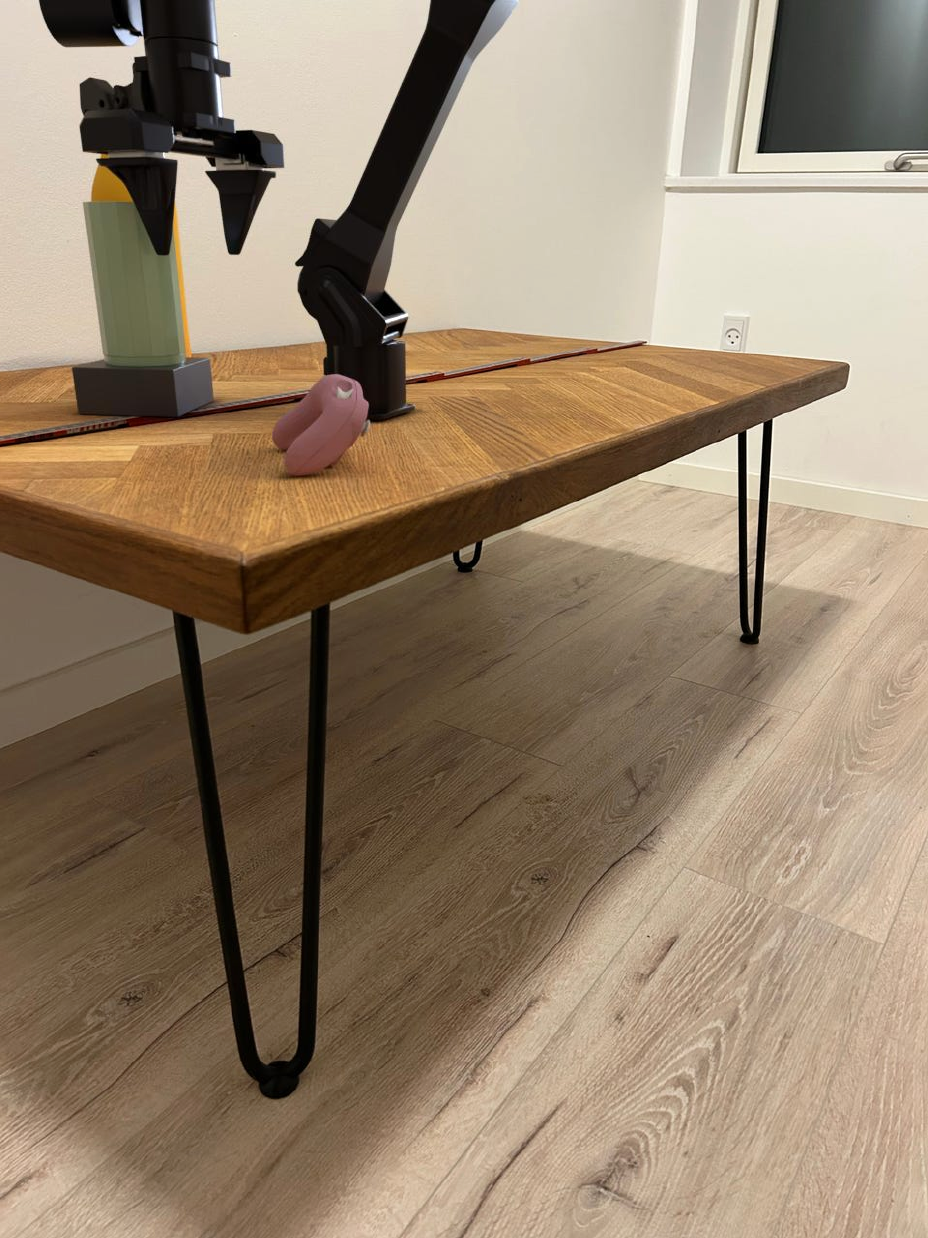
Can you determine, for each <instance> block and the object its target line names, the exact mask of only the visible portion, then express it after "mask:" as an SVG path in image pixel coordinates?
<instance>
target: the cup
mask: <svg viewBox="0 0 928 1238" xmlns="http://www.w3.org/2000/svg"><path fill="white" fill-rule="evenodd" d="M82 207H83V215H84V216H83V217H84V222H85V223H84V224H85V230H86V237H87V244H88V252H89V261H90V266H91V274H92V282H93V289H94V296H95V304H96V312H97V319H98V320H97V321H98V327H99V335H100V343H101V349H102V355H103V359H104V361H105V364H107V365H112V366H124V367H152V366H167V365H176V364H181V363H184V362H186V361H187V359H186V349H185V339H184V329H183V319H182V309H181V299H180V289H179V280H178V270H177V260H176V250H175V240H174V230H173V234H172V241H171V248H170V253H169V255H168V256H161V255H157V254H156V252H155V250H154V248H153V245H152V243H151V241H150V238H149V236H148V234H147V231H146V229H145V227H144V225H143V222H142V220H141V218H140V215H139V213H138V211H137V209H136V206H135V204H134V202H109V201H95V202H91V201H82Z"/></svg>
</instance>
